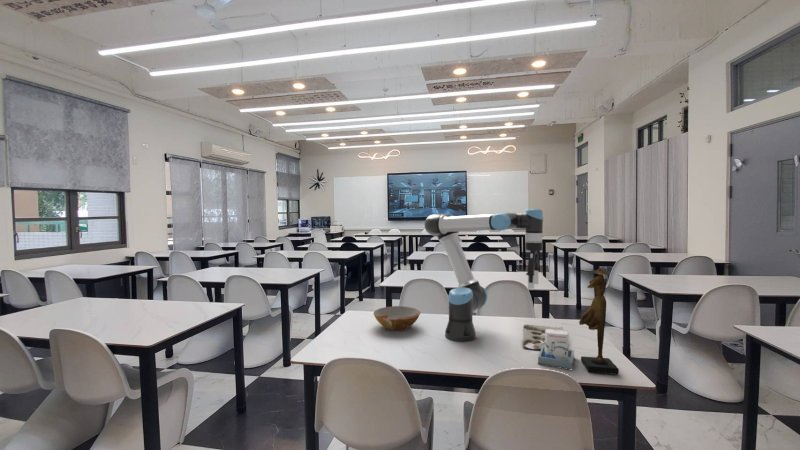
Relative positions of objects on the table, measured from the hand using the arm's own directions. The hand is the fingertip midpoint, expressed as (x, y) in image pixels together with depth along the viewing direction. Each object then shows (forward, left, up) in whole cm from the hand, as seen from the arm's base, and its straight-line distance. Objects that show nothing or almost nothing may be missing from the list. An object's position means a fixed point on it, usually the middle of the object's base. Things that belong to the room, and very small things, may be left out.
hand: (533, 286), depth 174 cm
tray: (+12, -18, -27) cm, 34 cm away
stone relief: (+5, +7, -27) cm, 28 cm away
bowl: (-68, -10, -27) cm, 74 cm away
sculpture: (+27, -18, -27) cm, 42 cm away
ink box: (+12, -17, -26) cm, 34 cm away
